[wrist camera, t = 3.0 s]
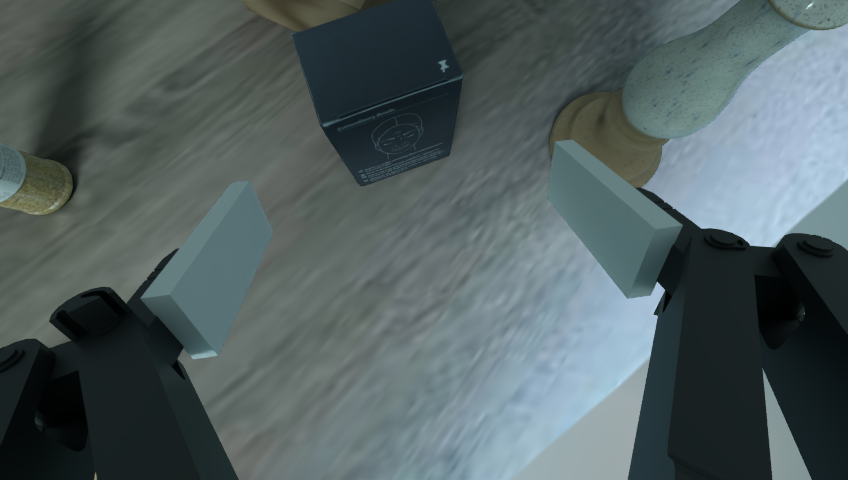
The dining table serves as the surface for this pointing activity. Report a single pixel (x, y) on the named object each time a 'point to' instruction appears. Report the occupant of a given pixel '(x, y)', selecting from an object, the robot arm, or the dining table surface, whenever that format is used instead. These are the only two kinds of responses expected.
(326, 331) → the dining table surface
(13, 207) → the sprinkles bottle
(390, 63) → the box
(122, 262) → the dining table surface
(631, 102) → the candle holder
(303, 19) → the tan square block
